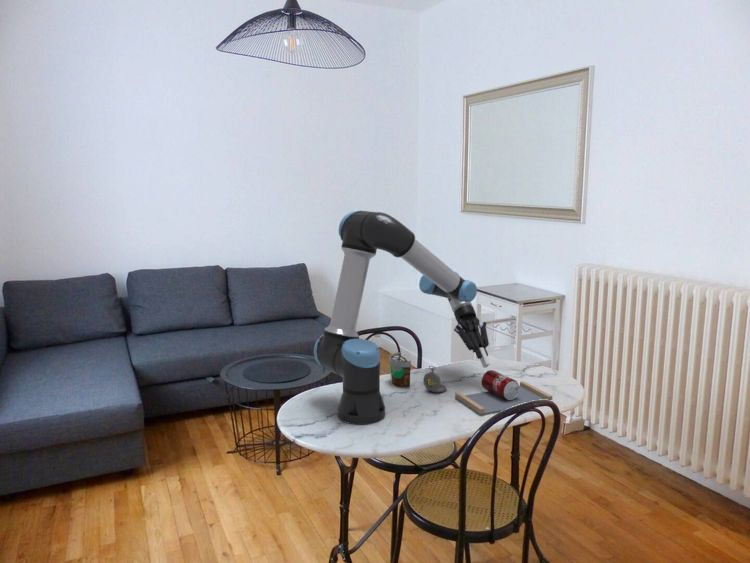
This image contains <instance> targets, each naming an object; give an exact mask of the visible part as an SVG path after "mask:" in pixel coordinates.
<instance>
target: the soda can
mask: <svg viewBox="0 0 750 563" xmlns="http://www.w3.org/2000/svg"><path fill="white" fill-rule="evenodd" d="M481 386H482V388H483V389H484V390H485V391H486V392H487V391H489V392H491V393H493V394H495V395H497V396H499V397H501V398H503V399H505V400H512V399H514V398H515V397H516V396H517V395H518V393H519V386H520V383H518V381H517V380H515V379H513V378H512V377H509V376H508V375H505V374H503V373H500V372H498V371H496V370H493V369H490V370H487V371H486V372H484V373H483V376H482V378H481Z"/></svg>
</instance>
